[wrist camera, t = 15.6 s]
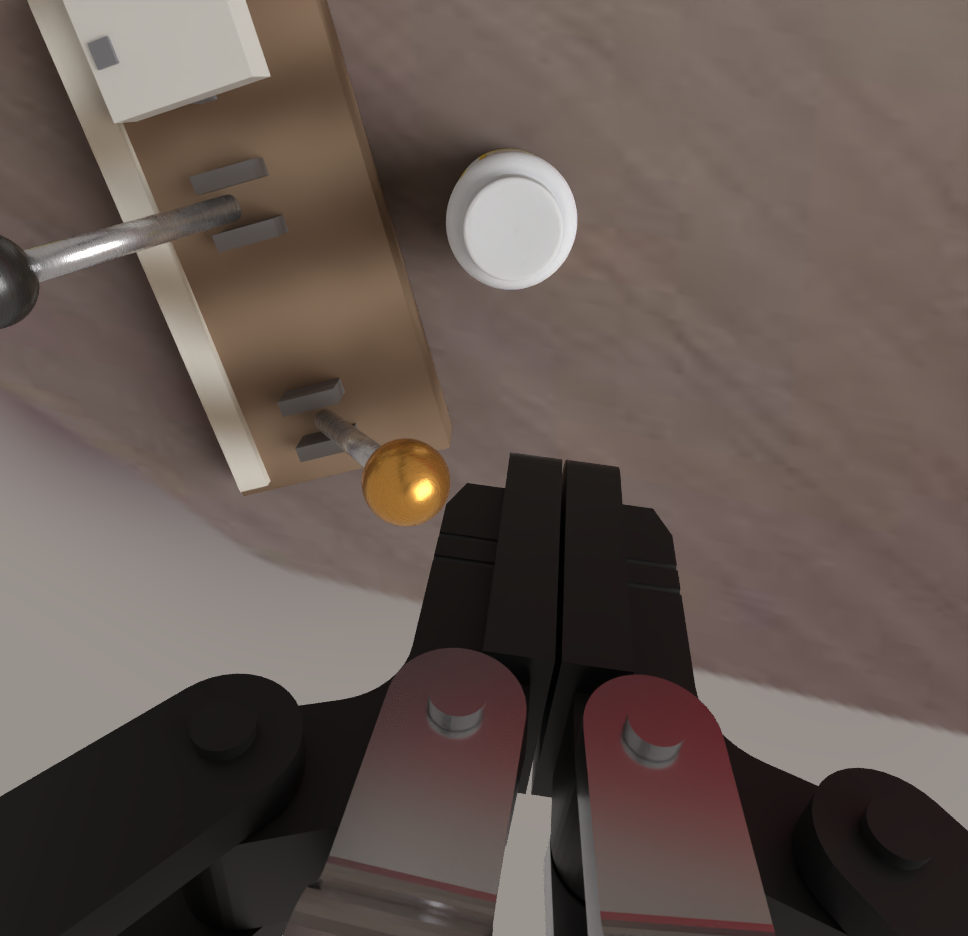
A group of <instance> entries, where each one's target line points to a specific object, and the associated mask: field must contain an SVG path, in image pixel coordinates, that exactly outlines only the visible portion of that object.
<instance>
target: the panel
mask: <svg viewBox="0 0 968 936" xmlns="http://www.w3.org/2000/svg"><path fill="white" fill-rule="evenodd" d="M27 1H28V4H29V6H30V8H31V11H32V13H33V15H34V18H35V20H36V22H37V24H38V27H39V29H40V31H41V34H42V36H43V38H44V41H45V43H46V45H47V48H48V50H49V52H50V54H51V57H52V59H53V61H54V64H55V66H56V68H57V71H58V73H59V75H60V77H61V80H62V82H63V84H64V87H65V89H66V91H67V94H68V96H69V98H70V101H71V103H72V105H73V107H74V110H75V112H76V114H77V117H78V119H79V121H80V124H81V126H82V128H83V131H84V133H85V135H86V137H87V140H88V142H89V144H90V147H91V149H92V151H93V154H94V156H95V158H96V160H97V163H98V165H99V167H100V170H101V172H102V174H103V177H104V179H105V181H106V184H107V186H108V188H109V190H110V193H111V195H112V197H113V200H114V202H115V204H116V207H117V209H118V211H119V213H120V216H121V218H122V220H123V223H124V222H128V221H132V220H135V219H139V218H143V217H146V216H150V215H154V214H157V213H161V212H165V211H168V210H172V209H176V208H179V207H183V206H187V205H190V204H194V203H198V202H201V201H205V200H209V199H212V198H216V197H220V196H223V195H227V194H230V195H232V196H234V197H235V198H236V199H237V201H238V202H239V204H240V207H241V217H240V219H239V220H238V221H235V222H232V223H229V224H225V225H222V226H219V227H216V228H212V229H209V230H206V231H203V232H200V233H196V234H193V235H190V236H187V237H184V238H180V239H177V240H174V241H171V242H168V243H164V244H161V245H158V246H155V247H152V248H148V249H145V250H142V251H139V252H136V253H137V255H138V257H139V260H140V262H141V264H142V267H143V269H144V271H145V273H146V276H147V278H148V280H149V283H150V285H151V287H152V290H153V292H154V294H155V296H156V299H157V301H158V303H159V306H160V308H161V310H162V313H163V315H164V317H165V320H166V322H167V324H168V326H169V329H170V331H171V333H172V336H173V338H174V340H175V343H176V345H177V347H178V350H179V352H180V354H181V356H182V359H183V361H184V363H185V366H186V368H187V370H188V373H189V375H190V377H191V379H192V382H193V384H194V386H195V389H196V391H197V393H198V396H199V398H200V400H201V403H202V405H203V407H204V409H205V412H206V414H207V416H208V419H209V421H210V423H211V426H212V428H213V430H214V432H215V435H216V437H217V439H218V442H219V444H220V446H221V449H222V451H223V453H224V456H225V458H226V460H227V462H228V465H229V467H230V469H231V472H232V474H233V476H234V479H235V481H236V483H237V486H238V488H239V490H240V492H242V493H243V496H246V495H250V494H254V493H258V492H263V491H267V490H271V489H275V488H280V487H284V486H288V485H292V484H297V483H301V482H305V481H309V480H314V479H318V478H322V477H326V476H331V475H335V474H339V473H343V472H347V471H352V470H356V469H360V468H364V467H363V466H362V465H360V464H359V463H358V462H357V461H356V460H354V459H353V458H352V457H351V456H350V455H348V454H347V453H346V452H345V451H344V450H342V449H341V448H340V447H339V446H338V445H336V444H335V443H334V442H333V441H332V440H330V439H329V438H328V437H327V436H326V435H324V434H323V433H322V432H321V431H320V430H318V429H317V428H316V426H315V423H314V418H315V415H316V414H317V413H318V412H319V411H320V410H323V409H329V410H332V411H333V412H335V413H336V414H337V415H339V416H340V417H342V418H343V419H344V420H346V421H347V422H349V423H350V424H351V425H353V426H354V427H356V428H357V429H359V430H360V431H361V432H363V433H364V434H366V435H367V436H368V437H370V438H371V439H373V440H374V441H375V442H377V443H378V444H380V445H381V446H382V445H383V444H385V443H387V442H390V441H393V440H396V439H402V438H409V439H416V440H420V441H422V442H425V443H427V444H429V445H430V446H432V447H433V448H434V449H436V450H441V449H445V448H449V447H450V442H451V435H452V428H453V427H452V424H451V420H450V417H449V414H448V410H447V407H446V403H445V400H444V397H443V393H442V390H441V387H440V383H439V380H438V376H437V373H436V370H435V366H434V363H433V359H432V356H431V353H430V349H429V346H428V343H427V339H426V336H425V332H424V329H423V326H422V322H421V319H420V315H419V312H418V309H417V305H416V302H415V299H414V295H413V292H412V288H411V285H410V282H409V278H408V275H407V271H406V268H405V265H404V261H403V258H402V255H401V251H400V248H399V244H398V241H397V238H396V234H395V231H394V227H393V224H392V221H391V217H390V214H389V211H388V207H387V204H386V200H385V197H384V194H383V190H382V187H381V183H380V180H379V177H378V173H377V170H376V166H375V163H374V160H373V156H372V153H371V150H370V146H369V143H368V139H367V136H366V133H365V129H364V126H363V122H362V119H361V116H360V112H359V109H358V106H357V102H356V99H355V95H354V92H353V89H352V85H351V82H350V78H349V75H348V72H347V68H346V65H345V62H344V58H343V55H342V51H341V48H340V45H339V41H338V38H337V34H336V31H335V28H334V24H333V21H332V18H331V14H330V11H329V7H328V4H327V1H326V0H246V3H247V6H248V9H249V12H250V15H251V19H252V22H253V25H254V28H255V31H256V34H257V37H258V40H259V43H260V46H261V49H262V52H263V55H264V58H265V61H266V64H267V67H268V70H269V73H270V76H271V77H268V78H265V79H262V80H259V81H256V82H253V83H250V84H247V85H244V86H241V87H238V88H235V89H232V90H229V91H226V92H223V93H220V94H217V95H214V96H211V97H208V98H205V99H203V100H200V101H197V102H194V103H191V104H188V105H185V106H182V107H179V108H176V109H173V110H170V111H167V112H164V113H161V114H158V115H155V116H152V117H149V118H146V119H143V120H140V121H137V122H126V123H114V122H113V120H112V117H111V115H110V112H109V110H108V108H107V105H106V103H105V100H104V98H103V96H102V93H101V91H100V88H99V86H98V84H97V81H96V79H95V77H94V74H93V72H92V69H91V67H90V65H89V62H88V60H87V57H86V55H85V53H84V50H83V48H82V45H81V43H80V41H79V38H78V36H77V33H76V31H75V29H74V26H73V24H72V21H71V19H70V17H69V14H68V12H67V9H66V7H65V5H64V2H63V0H27Z"/></svg>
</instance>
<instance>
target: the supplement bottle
mask: <svg viewBox="0 0 968 936" xmlns="http://www.w3.org/2000/svg"><path fill="white" fill-rule="evenodd" d="M576 229H577V210H576V204H575V201H574V197H573V194H572V192H571V190H570V188H569V186H568V184H567V182H566V181H565V179H564V178H563V177H562V175H561V174H560V173H559V172H558V171H557V170H556V169H555V168H554V167H553V166H552V165H550V164H549V163H548V162H546V161H545V160H543V159H541V158H539V157H537V156H536V155H533V154H532V153H529V152H527V151H524V150H520V149H514V148H502V149H497V150H493V151H490V152H488V153H485V154H483V155H482V156H480V157H478V158H477V159H476V160H474V161H473V162H472V163H471V164H470V165H469V166H468V167H467V168H466V170H465V171H464V172H463V174H462V175H461V177H460V179H459V180H458V182H457V184H456V185H455V187H454V189H453V191H452V194H451V196H450V199H449V202H448V207H447V213H446V231H447V237H448V241H449V244H450V247H451V250H452V252H453V254H454V256H455V258H456V259H457V261H458V262H459V264H460V265H461V266H462V267H463V268H464V269H465V270H466V272H467V273H468V274H470V275H471V276H472V277H474V278H475V279H477V280H478V281H480V282H482V283H484V284H486V285H488V286H491V287H494V288H498V289H506V290H515V289H523V288H527V287H530V286H533V285H536V284H538V283H540V282H542V281H544V280H545V279H547V278H548V277H549V276H551V275H552V274H553V273H554V272H555V271H556V270H557V269H558V268H559V267H560V266H561V265H562V264H563V262H564V261H565V259H566V258H567V256H568V254H569V252H570V250H571V248H572V245H573V243H574V239H575V235H576Z"/></svg>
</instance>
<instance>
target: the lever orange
mask: <svg viewBox="0 0 968 936" xmlns="http://www.w3.org/2000/svg"><path fill="white" fill-rule="evenodd" d="M314 423H315V426H316V428H317V429H318V430H320V431H321V432H322V433H323V434H324V435H326V436H327V437H328V438H329V439H330V440H332V441H333V442H334V443H335V444H336V445H338V446H339V447H340V448H341V449H342V450H344V451H345V452H346V453H347V454H348V455H350V456H351V457H352V458H353V459H354V460H356V461H357V462H358V463H359V464H360V465H362V466H363V467H364V470H363V474H362V491H363V495H364V498H365V500H366V503H367V504H368V506H369V508H370V509H371V510H372V511H373V512H374V514H375V515H377V516H378V517H379V518H380V519H382V520H384V521H385V522H387V523H390V524H393V525H396V526H415V525H419V524H422V523H424V522H426V521H428V520H430V519H431V518H433V517H434V516H435V515H436V514H437V513H438V512H439V511H440V510H441V509H442V507H443V506H444V504H445V502H446V500H447V498H448V495H449V490H450V474H449V470H448V467H447V464H446V462H445V461H444V459H443V457H442V456H441V455H440V453H439V452H438V451H437V450H436V449H434V448H433V447H432V446H430V445H429V444H427V443H425V442H422V441H420V440H416V439H409V438H402V439H396V440H393V441H390V442H387V443H385V444H383V445H382V446H381V445H380V444H378V443H377V442H375V441H374V440H373V439H371V438H370V437H368V436H367V435H366V434H364V433H363V432H361V431H360V430H359V429H357V428H356V427H354V426H353V425H351V424H350V423H349V422H347V421H346V420H344V419H343V418H342V417H340V416H339V415H337V414H336V413H335V412H333V411H332V410H329V409H323V410H320V411H319V412H318V413H317V414H316V415H315V418H314Z"/></svg>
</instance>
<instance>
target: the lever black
mask: <svg viewBox="0 0 968 936" xmlns="http://www.w3.org/2000/svg"><path fill="white" fill-rule="evenodd" d="M240 217H241V207H240V204H239V202H238V201H237V199H236V198H235V197H234V196H232V195H230V194H227V195H223V196H220V197H216V198H212V199H209V200H205V201H201V202H198V203H194V204H190V205H187V206H183V207H179V208H176V209H172V210H168V211H165V212H161V213H157V214H154V215H150V216H146V217H143V218H139V219H135V220H132V221H128V222H124V223H121V224H117V225H113V226H110V227H106V228H102V229H99V230H95V231H91V232H88V233H84V234H80V235H77V236H73V237H69V238H66V239H62V240H58V241H55V242H51V243H47V244H44V245H40V246H36V247H33V248H29V249H26V250H22V249H21V248H20V247H19V246H18V245H17V244H15V243H14V242H12V241H11V240H9V239H7V238H5V237H3V236H1V235H0V329H3V328H6V327H9V326H12V325H14V324H16V323H18V322H20V321H21V320H22V319H24V318H25V317H26V316H27V315H28V314H29V313H30V312H31V310H32V309H33V307H34V306H35V304H36V302H37V299H38V295H39V282H42V281H46V280H49V279H52V278H55V277H58V276H62V275H65V274H68V273H71V272H74V271H78V270H81V269H84V268H87V267H91V266H94V265H97V264H100V263H103V262H107V261H110V260H113V259H116V258H119V257H123V256H126V255H129V254H132V253H135V252H139V251H142V250H145V249H148V248H152V247H155V246H158V245H161V244H164V243H168V242H171V241H174V240H177V239H180V238H184V237H187V236H190V235H193V234H196V233H200V232H203V231H206V230H209V229H212V228H216V227H219V226H222V225H225V224H229V223H232V222H235V221H238V220H239V219H240Z"/></svg>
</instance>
